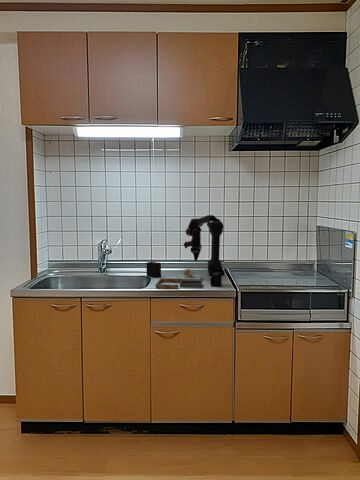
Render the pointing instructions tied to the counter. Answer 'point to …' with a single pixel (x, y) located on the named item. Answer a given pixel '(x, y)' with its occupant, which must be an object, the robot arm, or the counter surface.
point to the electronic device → (153, 269)
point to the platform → (194, 278)
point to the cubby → (167, 282)
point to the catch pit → (191, 284)
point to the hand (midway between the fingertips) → (196, 260)
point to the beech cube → (188, 273)
